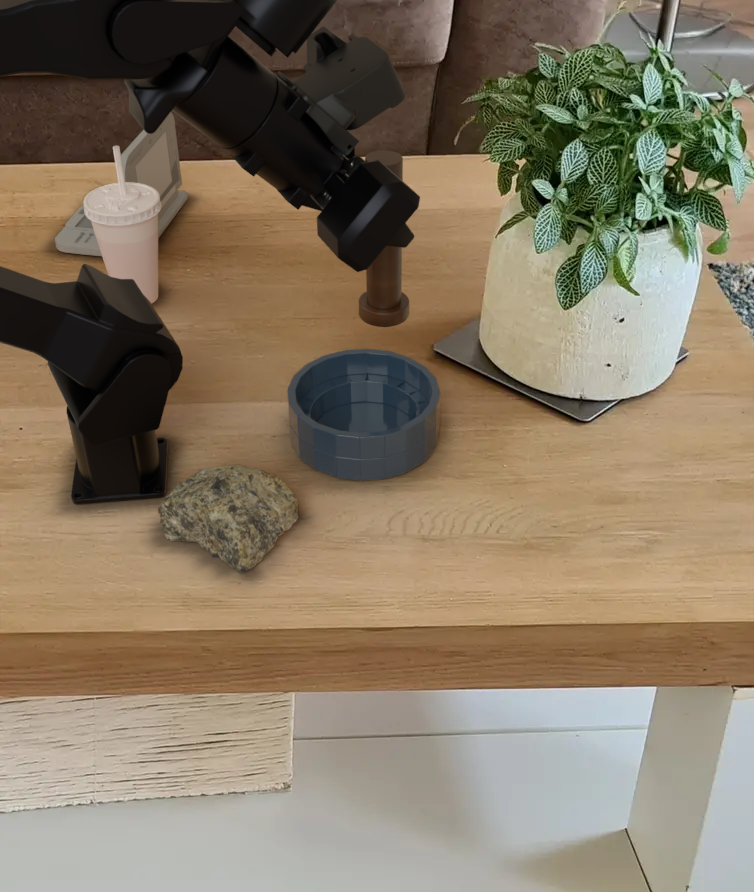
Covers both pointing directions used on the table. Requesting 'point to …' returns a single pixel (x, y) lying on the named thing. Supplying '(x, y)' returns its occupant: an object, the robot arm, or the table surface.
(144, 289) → the smoothie
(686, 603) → the table surface
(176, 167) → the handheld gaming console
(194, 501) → the rock
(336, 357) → the bowl
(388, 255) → the brown wooden peg
